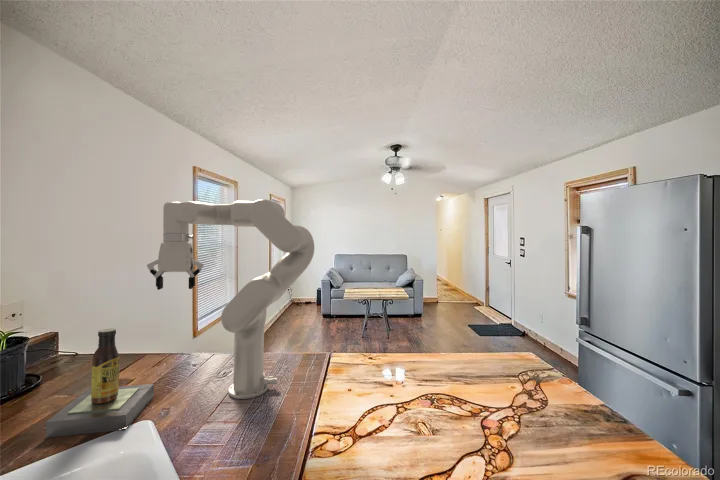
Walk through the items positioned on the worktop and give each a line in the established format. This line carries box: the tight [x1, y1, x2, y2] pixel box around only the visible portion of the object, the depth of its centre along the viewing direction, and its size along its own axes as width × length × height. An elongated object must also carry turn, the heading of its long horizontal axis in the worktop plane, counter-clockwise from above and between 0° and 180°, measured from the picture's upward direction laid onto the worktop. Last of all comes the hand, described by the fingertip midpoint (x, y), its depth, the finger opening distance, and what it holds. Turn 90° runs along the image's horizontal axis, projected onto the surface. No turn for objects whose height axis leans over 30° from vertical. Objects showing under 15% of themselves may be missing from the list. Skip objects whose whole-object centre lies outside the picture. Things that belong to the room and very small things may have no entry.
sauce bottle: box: [90, 328, 121, 404], centre depth 93 cm, size 7×6×20 cm
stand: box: [45, 383, 155, 438], centre depth 93 cm, size 18×18×4 cm
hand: (175, 288), depth 111 cm, fingers open, 9 cm apart
